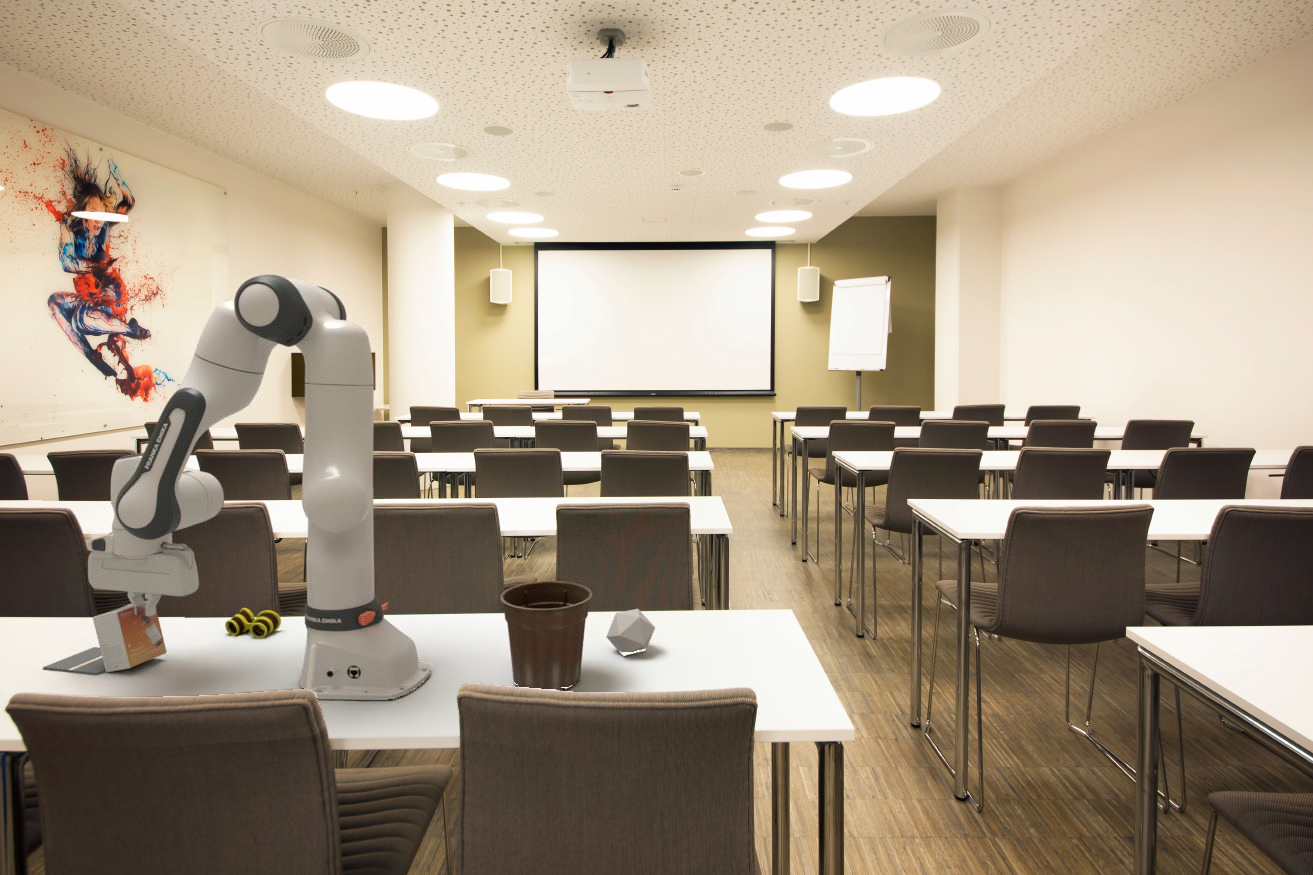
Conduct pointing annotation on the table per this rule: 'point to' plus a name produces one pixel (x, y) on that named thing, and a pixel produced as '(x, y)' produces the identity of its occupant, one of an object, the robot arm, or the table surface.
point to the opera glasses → (258, 628)
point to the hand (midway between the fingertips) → (145, 614)
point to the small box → (128, 638)
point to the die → (630, 631)
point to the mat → (81, 663)
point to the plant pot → (546, 632)
